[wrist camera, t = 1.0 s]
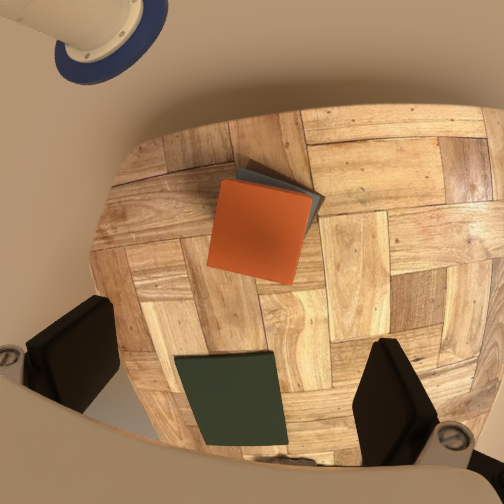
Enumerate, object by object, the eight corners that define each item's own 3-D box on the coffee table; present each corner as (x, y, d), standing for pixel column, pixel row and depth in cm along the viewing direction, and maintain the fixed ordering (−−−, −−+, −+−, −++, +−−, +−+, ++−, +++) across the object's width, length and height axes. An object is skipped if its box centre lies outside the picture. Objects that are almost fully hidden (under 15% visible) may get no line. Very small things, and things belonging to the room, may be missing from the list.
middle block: (224, 235, 26) (212, 245, 22) (247, 168, 24) (239, 166, 21) (290, 260, 26) (290, 274, 22) (315, 193, 24) (320, 196, 20)
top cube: (224, 247, 22) (206, 266, 17) (237, 179, 21) (221, 179, 16) (292, 262, 22) (292, 286, 17) (307, 194, 20) (313, 198, 16)
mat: (175, 356, 34) (173, 359, 34) (273, 351, 32) (273, 354, 32) (207, 442, 38) (206, 445, 37) (288, 441, 36) (288, 444, 35)
